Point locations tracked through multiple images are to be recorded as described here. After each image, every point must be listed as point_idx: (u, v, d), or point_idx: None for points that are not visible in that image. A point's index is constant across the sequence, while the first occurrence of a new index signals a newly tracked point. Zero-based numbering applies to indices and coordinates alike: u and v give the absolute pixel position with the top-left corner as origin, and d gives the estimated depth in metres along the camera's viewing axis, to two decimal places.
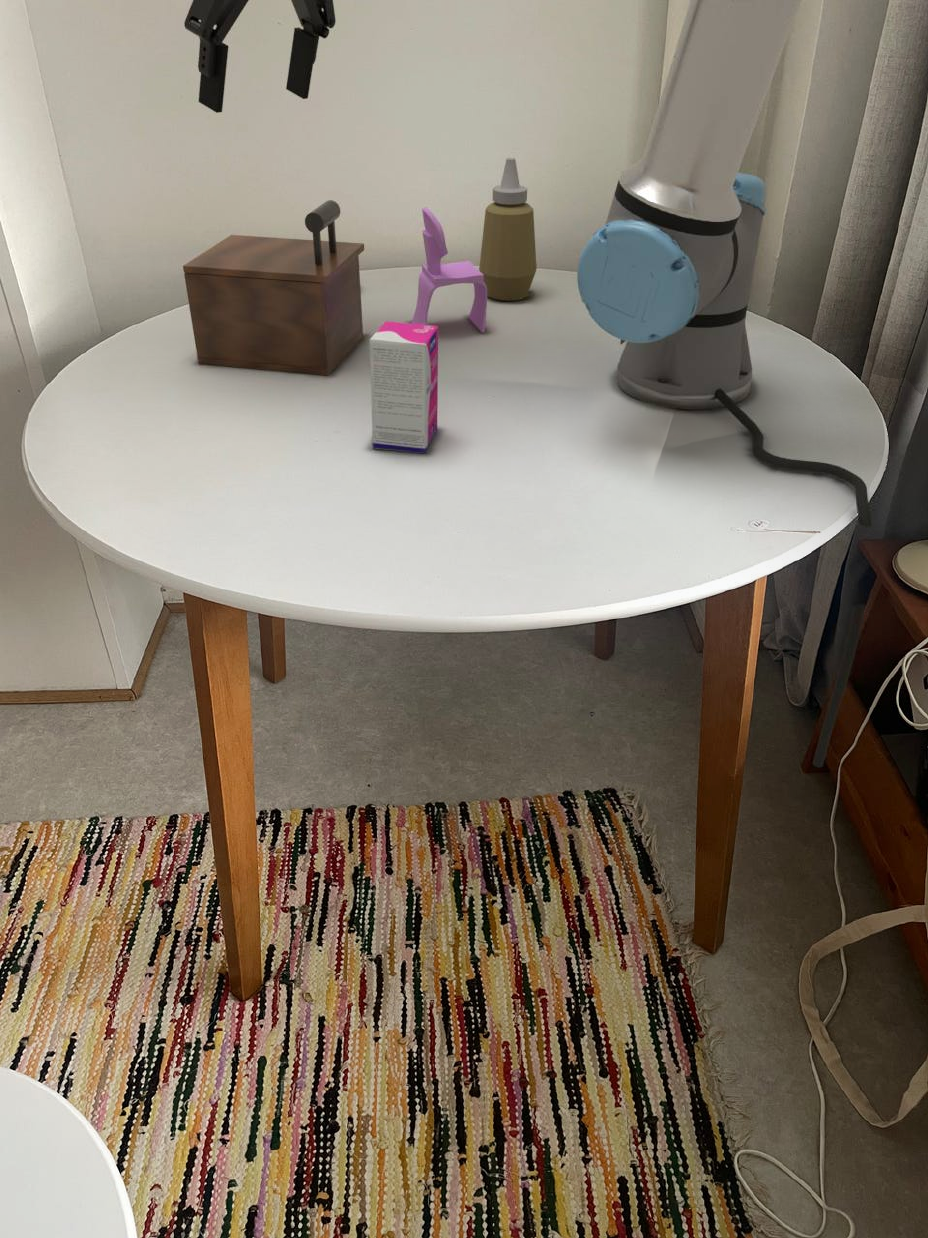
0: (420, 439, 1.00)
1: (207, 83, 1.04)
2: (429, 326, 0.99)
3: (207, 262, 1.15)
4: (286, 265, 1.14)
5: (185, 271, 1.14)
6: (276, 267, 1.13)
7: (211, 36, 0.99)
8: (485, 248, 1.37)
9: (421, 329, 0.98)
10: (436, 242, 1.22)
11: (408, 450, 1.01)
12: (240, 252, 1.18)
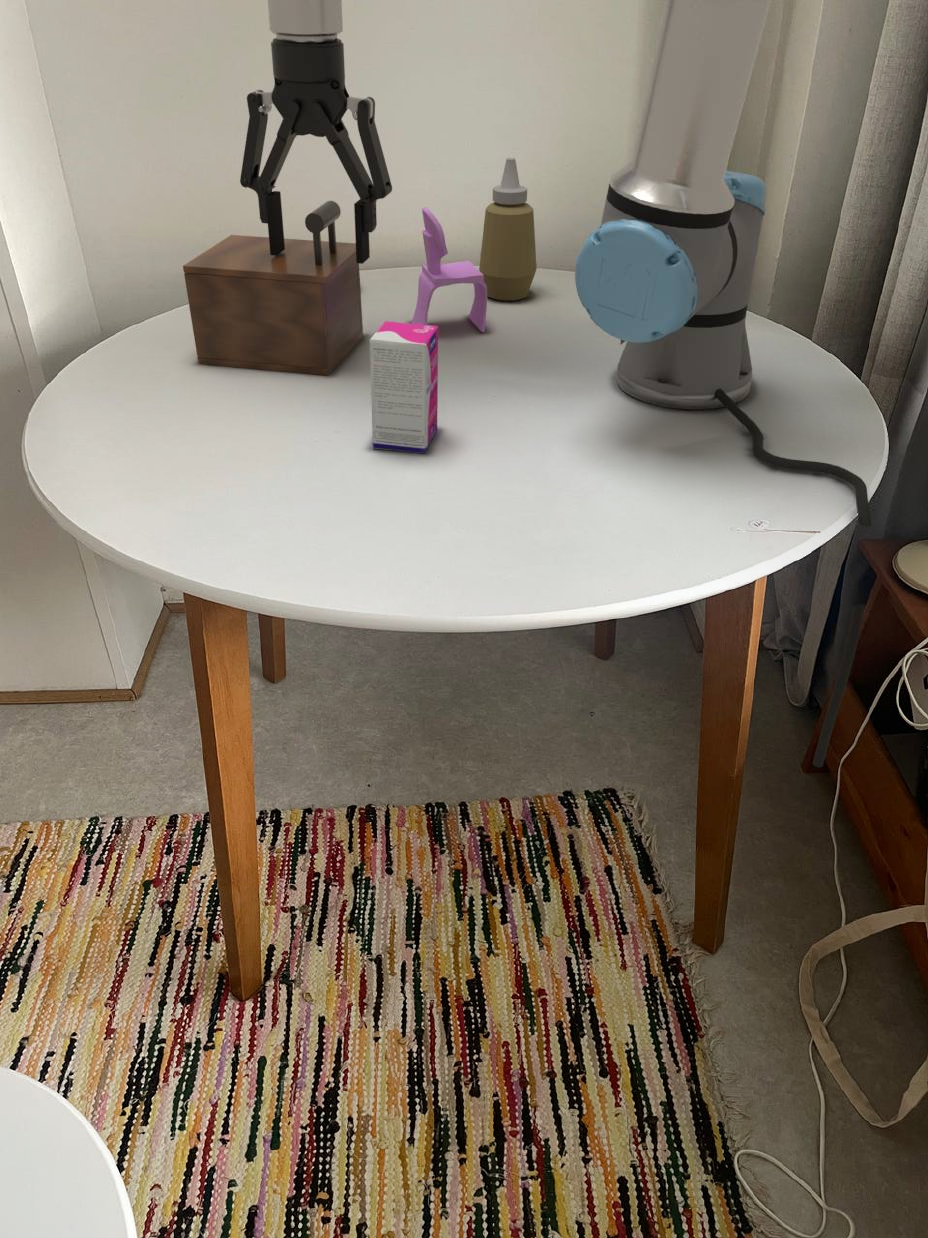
0: (420, 439, 1.00)
1: None
2: (429, 326, 0.99)
3: (207, 262, 1.15)
4: (286, 265, 1.14)
5: (185, 271, 1.14)
6: (276, 268, 1.13)
7: None
8: (485, 248, 1.37)
9: (421, 329, 0.98)
10: (436, 242, 1.22)
11: (408, 450, 1.01)
12: (240, 252, 1.18)
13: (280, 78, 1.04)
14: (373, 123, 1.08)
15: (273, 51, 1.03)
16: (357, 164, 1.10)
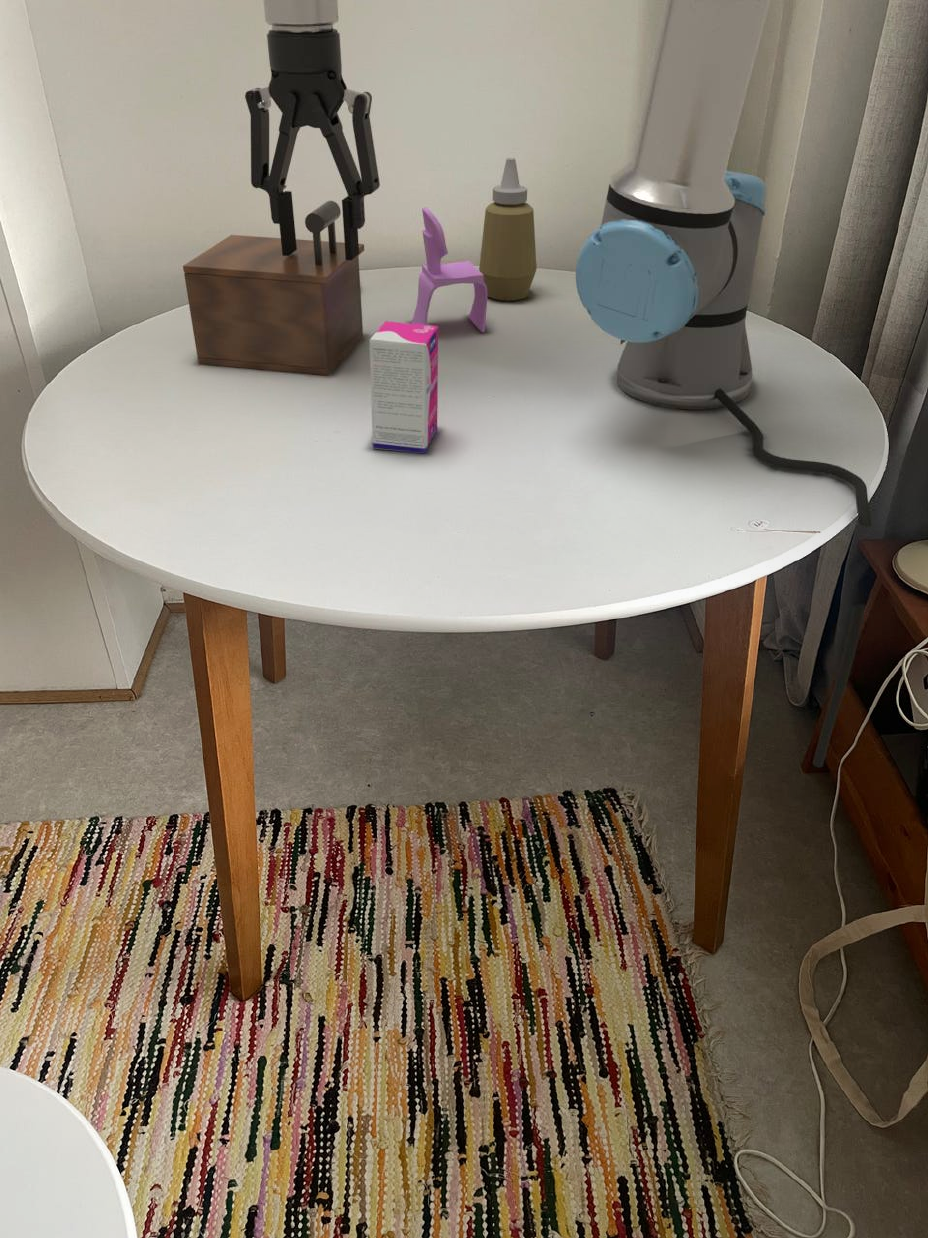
0: (420, 439, 1.00)
1: None
2: (429, 326, 0.99)
3: (207, 262, 1.15)
4: (286, 265, 1.14)
5: (185, 271, 1.14)
6: (276, 268, 1.13)
7: None
8: (485, 248, 1.37)
9: (421, 329, 0.98)
10: (436, 242, 1.22)
11: (408, 450, 1.01)
12: (240, 252, 1.18)
13: (276, 69, 1.03)
14: (368, 118, 1.08)
15: (269, 42, 1.03)
16: (348, 160, 1.10)
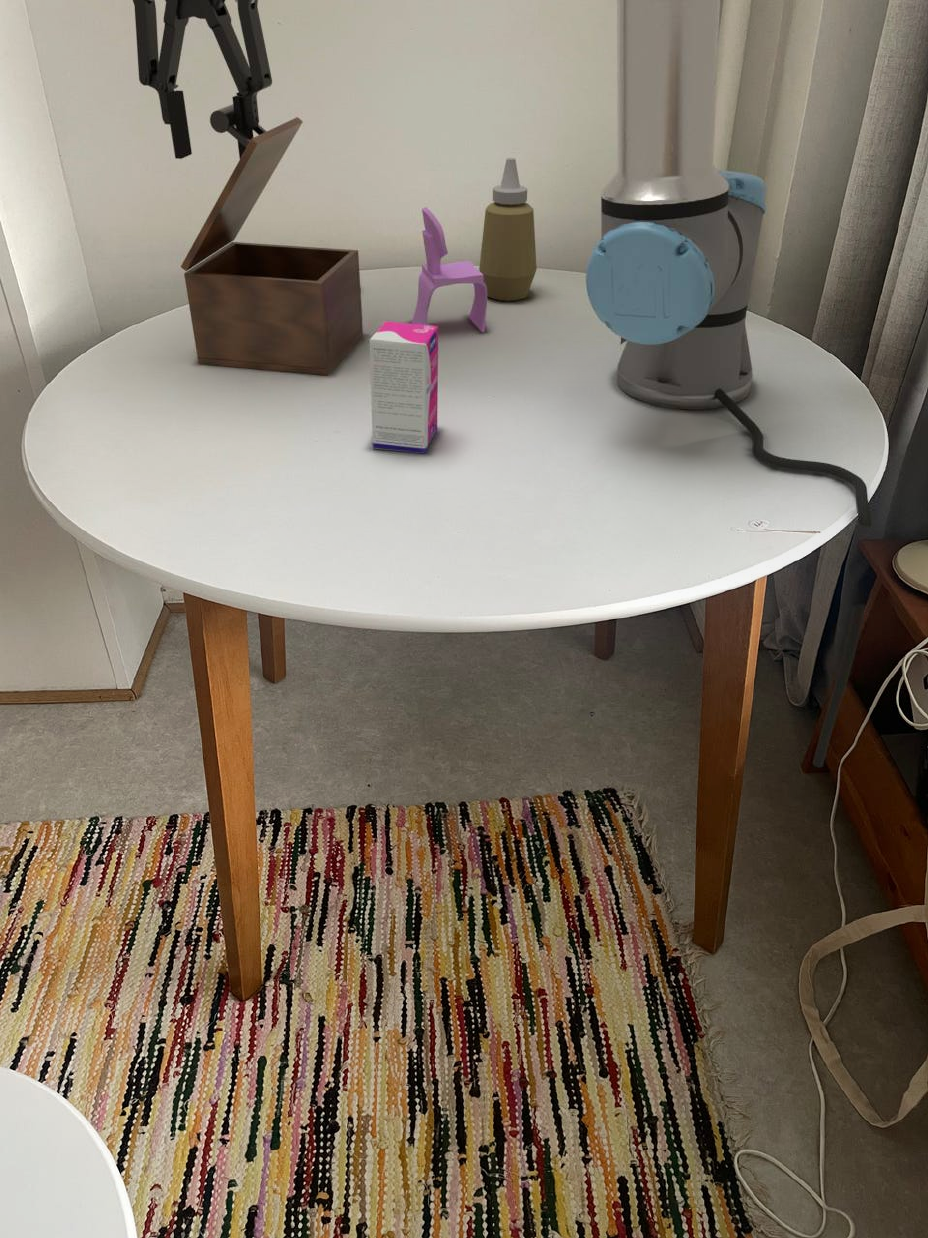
0: (420, 439, 1.00)
1: None
2: (429, 326, 0.99)
3: None
4: None
5: (185, 268, 1.14)
6: None
7: None
8: (485, 248, 1.37)
9: (421, 329, 0.98)
10: (436, 242, 1.22)
11: (408, 450, 1.01)
12: None
13: None
14: (255, 9, 1.04)
15: None
16: (237, 53, 1.06)
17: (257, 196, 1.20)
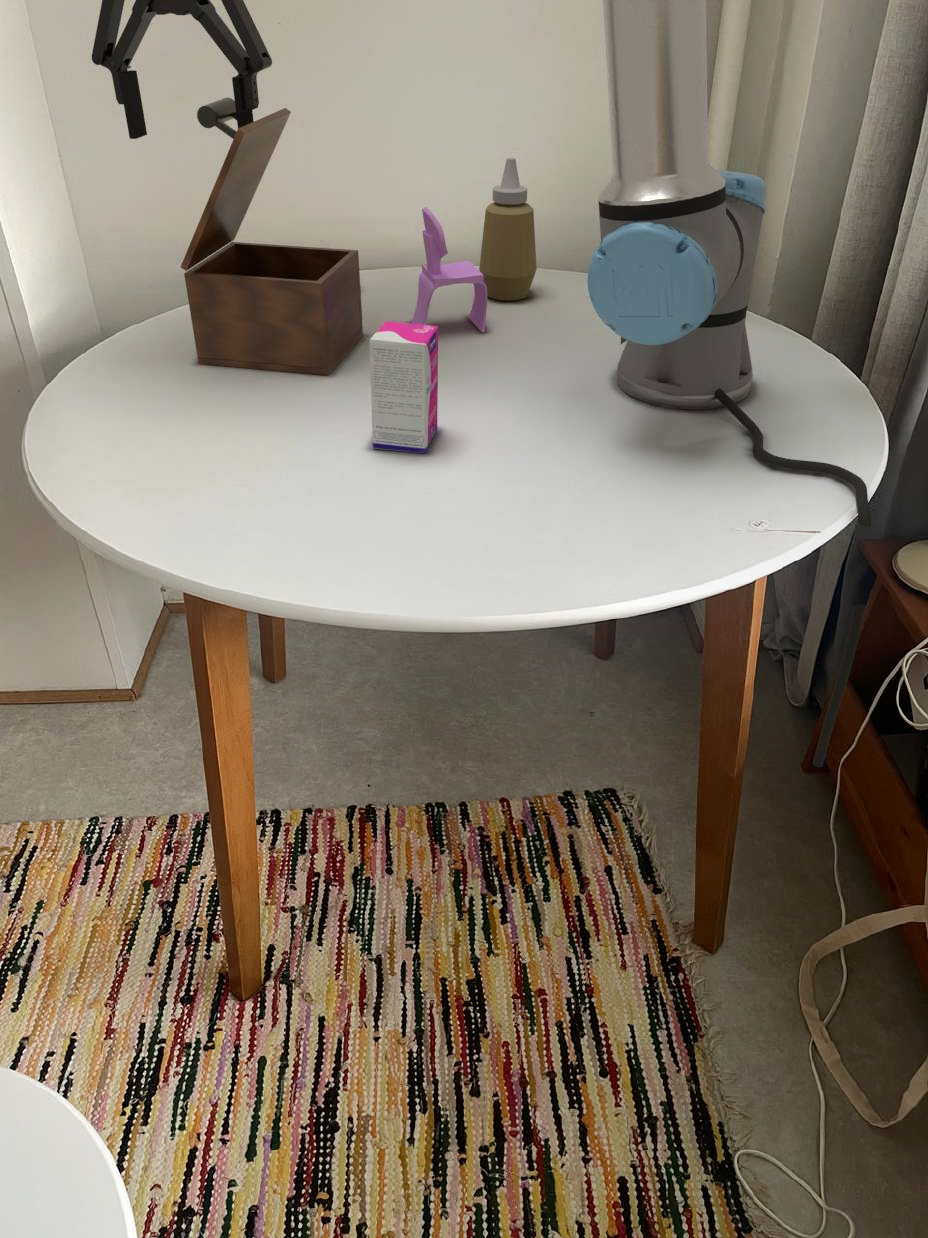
0: (420, 439, 1.00)
1: None
2: (429, 326, 0.99)
3: None
4: None
5: (185, 268, 1.14)
6: None
7: None
8: (485, 248, 1.37)
9: (421, 329, 0.98)
10: (436, 242, 1.22)
11: (408, 450, 1.01)
12: None
13: None
14: None
15: None
16: (229, 37, 1.05)
17: (253, 192, 1.20)
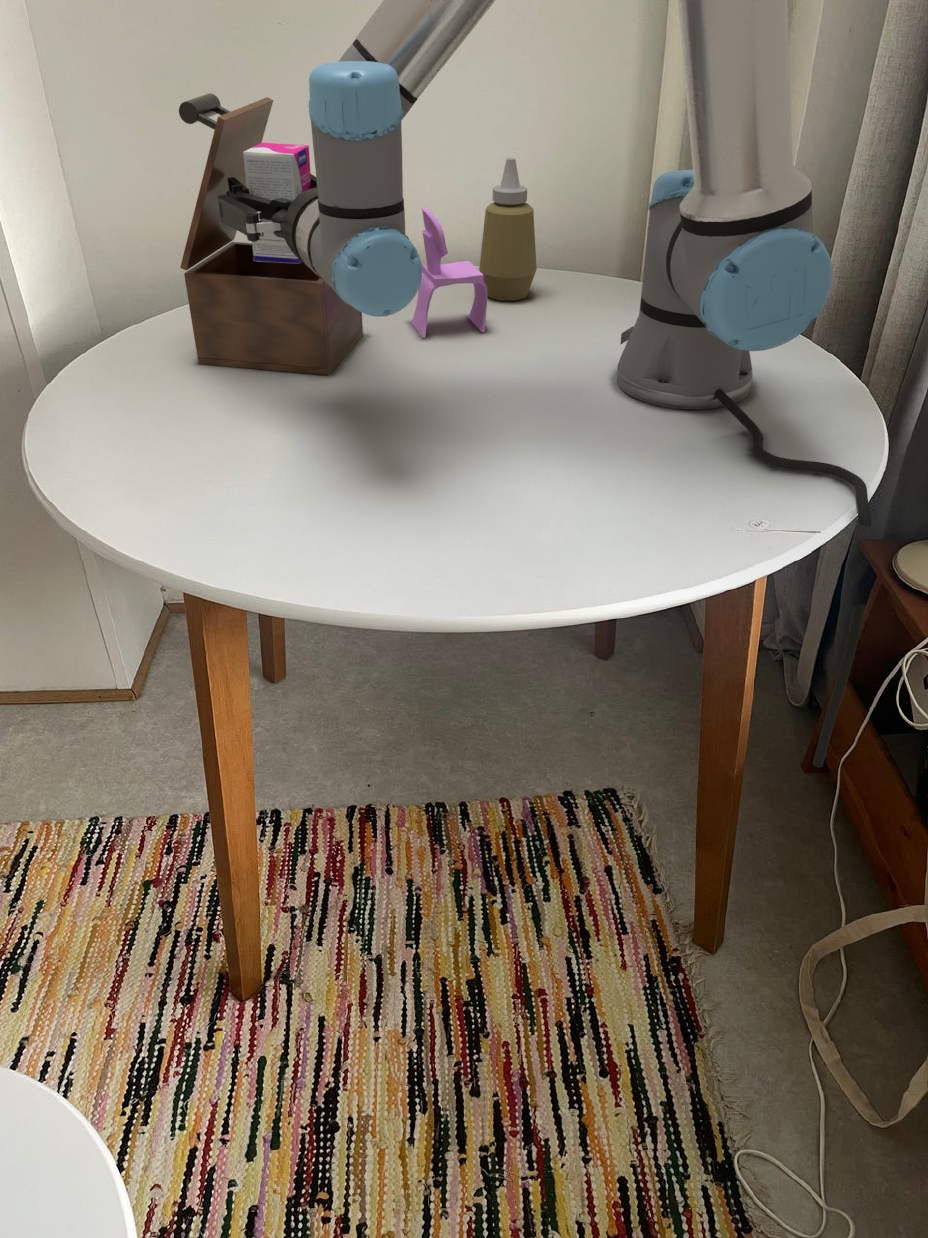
0: None
1: None
2: (300, 145, 1.09)
3: None
4: None
5: (185, 268, 1.14)
6: None
7: None
8: (485, 248, 1.37)
9: (292, 146, 1.09)
10: (436, 242, 1.22)
11: (285, 261, 1.12)
12: None
13: None
14: (245, 229, 1.02)
15: None
16: (253, 209, 1.05)
17: (246, 187, 1.20)
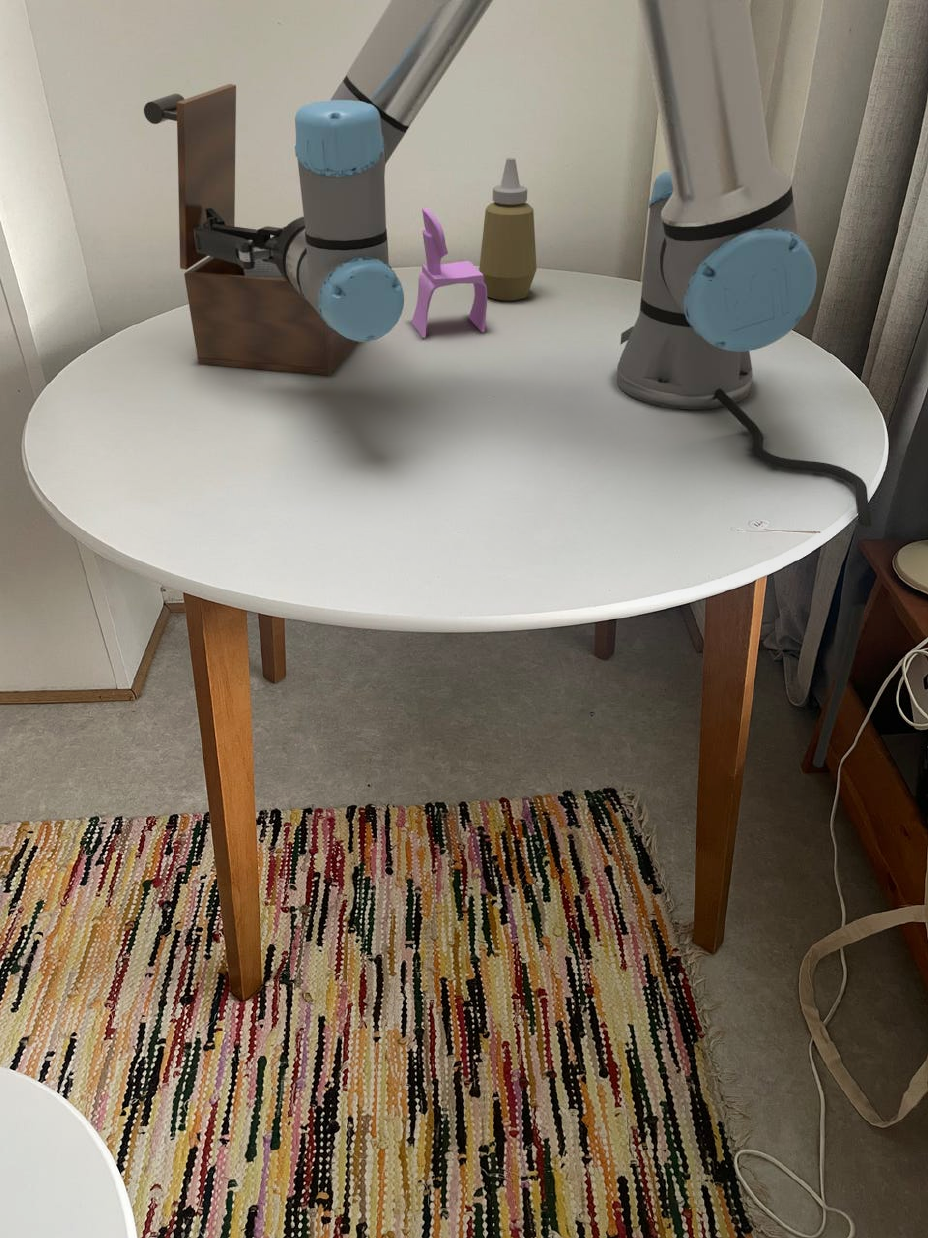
0: None
1: None
2: None
3: None
4: None
5: (185, 267, 1.14)
6: None
7: None
8: (485, 248, 1.37)
9: None
10: (436, 242, 1.22)
11: None
12: None
13: None
14: (236, 258, 1.05)
15: None
16: None
17: (231, 181, 1.20)
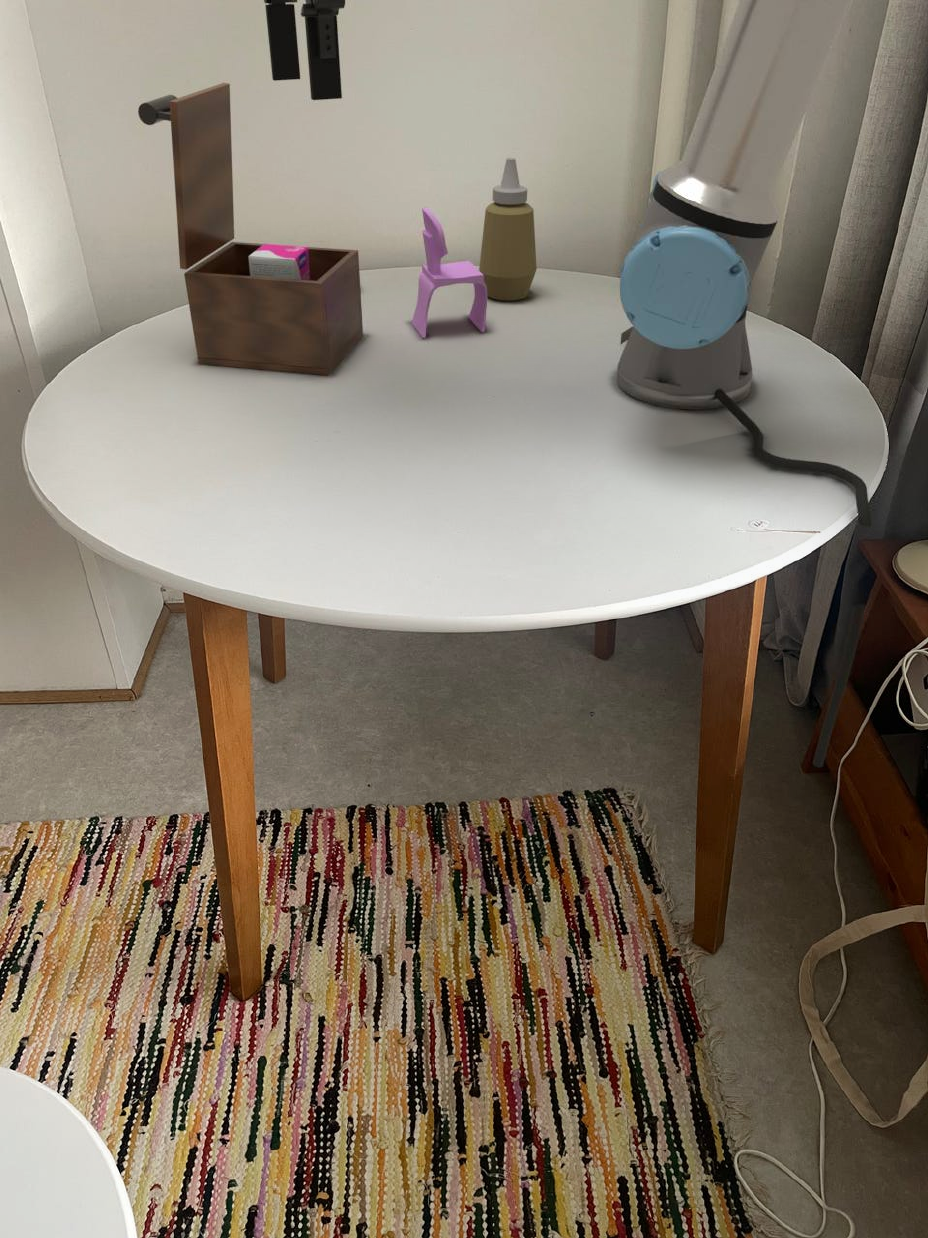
0: None
1: (322, 72, 0.90)
2: (300, 247, 1.19)
3: None
4: None
5: (184, 267, 1.14)
6: None
7: None
8: (485, 248, 1.37)
9: (293, 248, 1.18)
10: (436, 242, 1.22)
11: None
12: None
13: None
14: None
15: None
16: None
17: (229, 180, 1.20)
